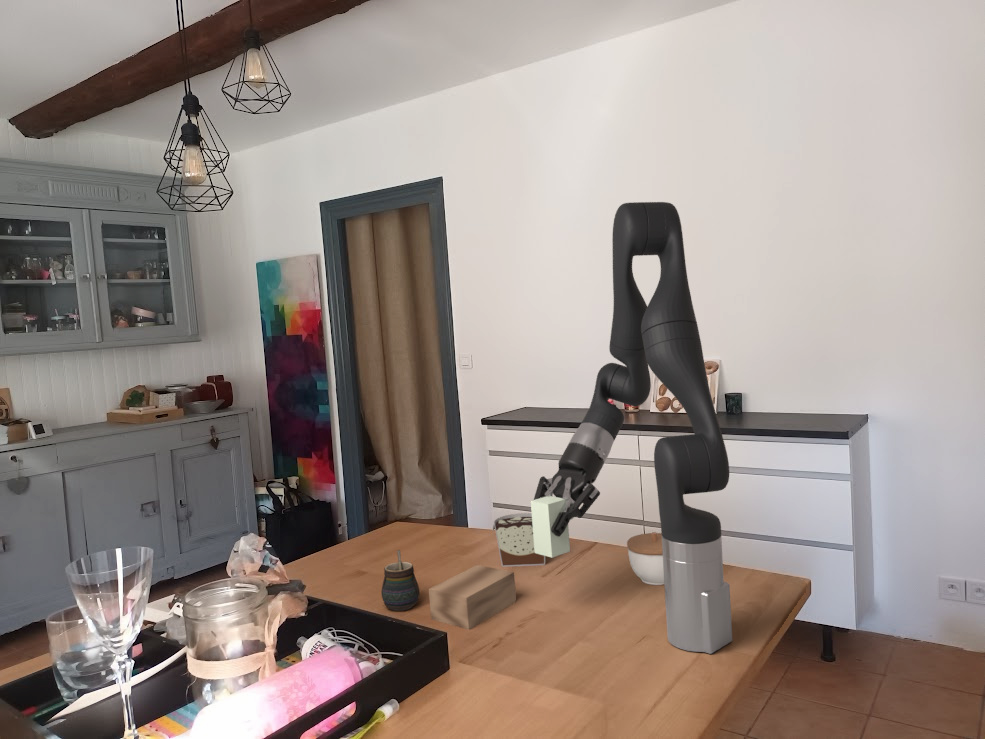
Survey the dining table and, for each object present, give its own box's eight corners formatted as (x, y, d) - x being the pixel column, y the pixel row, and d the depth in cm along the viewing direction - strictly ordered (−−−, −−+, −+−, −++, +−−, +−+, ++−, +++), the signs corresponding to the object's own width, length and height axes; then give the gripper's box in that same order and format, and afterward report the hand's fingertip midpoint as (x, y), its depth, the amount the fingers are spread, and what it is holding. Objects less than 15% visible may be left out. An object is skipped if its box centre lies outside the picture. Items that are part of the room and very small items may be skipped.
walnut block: (516, 602, 140) (513, 572, 140) (469, 631, 129) (466, 597, 129) (479, 594, 146) (477, 564, 145) (431, 620, 135) (428, 589, 134)
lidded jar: (671, 593, 138) (668, 544, 138) (619, 584, 145) (616, 537, 144) (693, 574, 147) (690, 528, 146) (643, 566, 153) (641, 522, 153)
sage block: (570, 551, 132) (566, 498, 132) (552, 557, 129) (548, 504, 129) (552, 546, 136) (548, 495, 135) (534, 552, 133) (530, 500, 132)
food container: (552, 555, 165) (549, 511, 164) (552, 564, 159) (548, 519, 158) (497, 557, 166) (494, 513, 165) (495, 567, 160) (491, 521, 159)
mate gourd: (385, 617, 137) (380, 565, 137) (380, 602, 145) (375, 552, 144) (423, 610, 139) (419, 558, 139) (416, 596, 147) (412, 547, 146)
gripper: (548, 438, 142) (506, 514, 135) (604, 443, 131) (561, 526, 124) (570, 460, 146) (529, 536, 139) (626, 467, 135) (585, 549, 128)
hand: (545, 531), depth 131 cm, fingers closed on sage block, 4 cm apart
